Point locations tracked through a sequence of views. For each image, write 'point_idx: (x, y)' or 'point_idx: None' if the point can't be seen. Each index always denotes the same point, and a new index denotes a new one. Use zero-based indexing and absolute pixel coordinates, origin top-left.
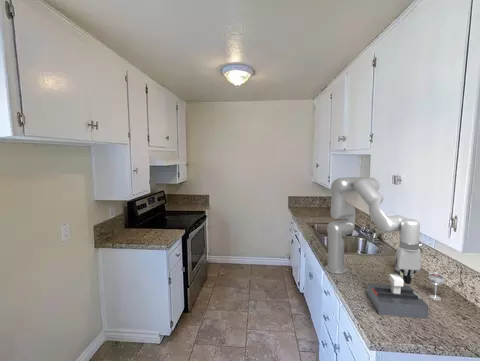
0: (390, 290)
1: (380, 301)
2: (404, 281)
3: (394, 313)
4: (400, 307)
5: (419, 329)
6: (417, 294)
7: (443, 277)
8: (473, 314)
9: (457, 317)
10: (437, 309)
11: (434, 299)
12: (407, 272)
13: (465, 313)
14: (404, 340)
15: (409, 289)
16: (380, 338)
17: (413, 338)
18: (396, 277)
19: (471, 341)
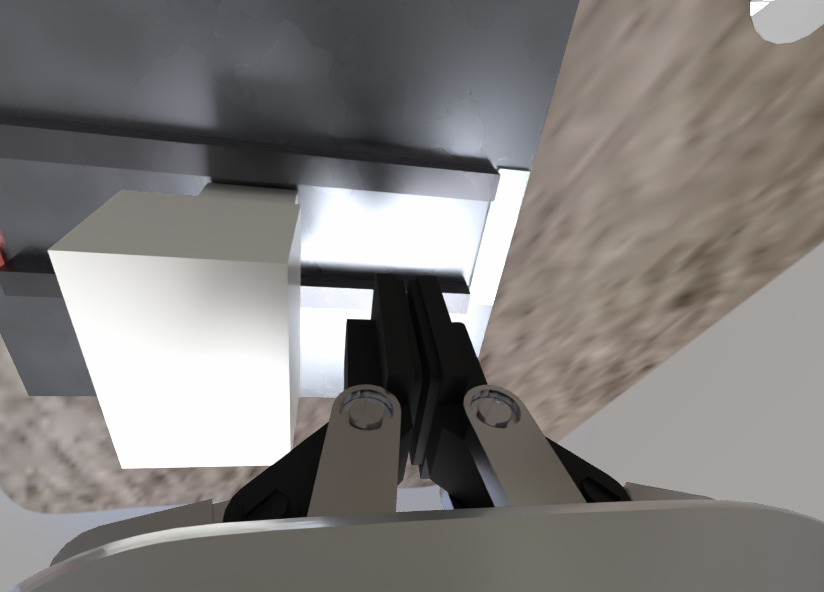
0: (203, 170)
1: (37, 389)
2: (373, 303)
3: None
4: None
5: (326, 419)
6: (508, 235)
7: None
8: (799, 251)
9: (656, 293)
10: (614, 209)
11: (756, 28)
12: (463, 409)
13: (761, 244)
14: (203, 493)
15: (505, 98)
16: (75, 500)
17: None
18: (190, 393)
19: None
